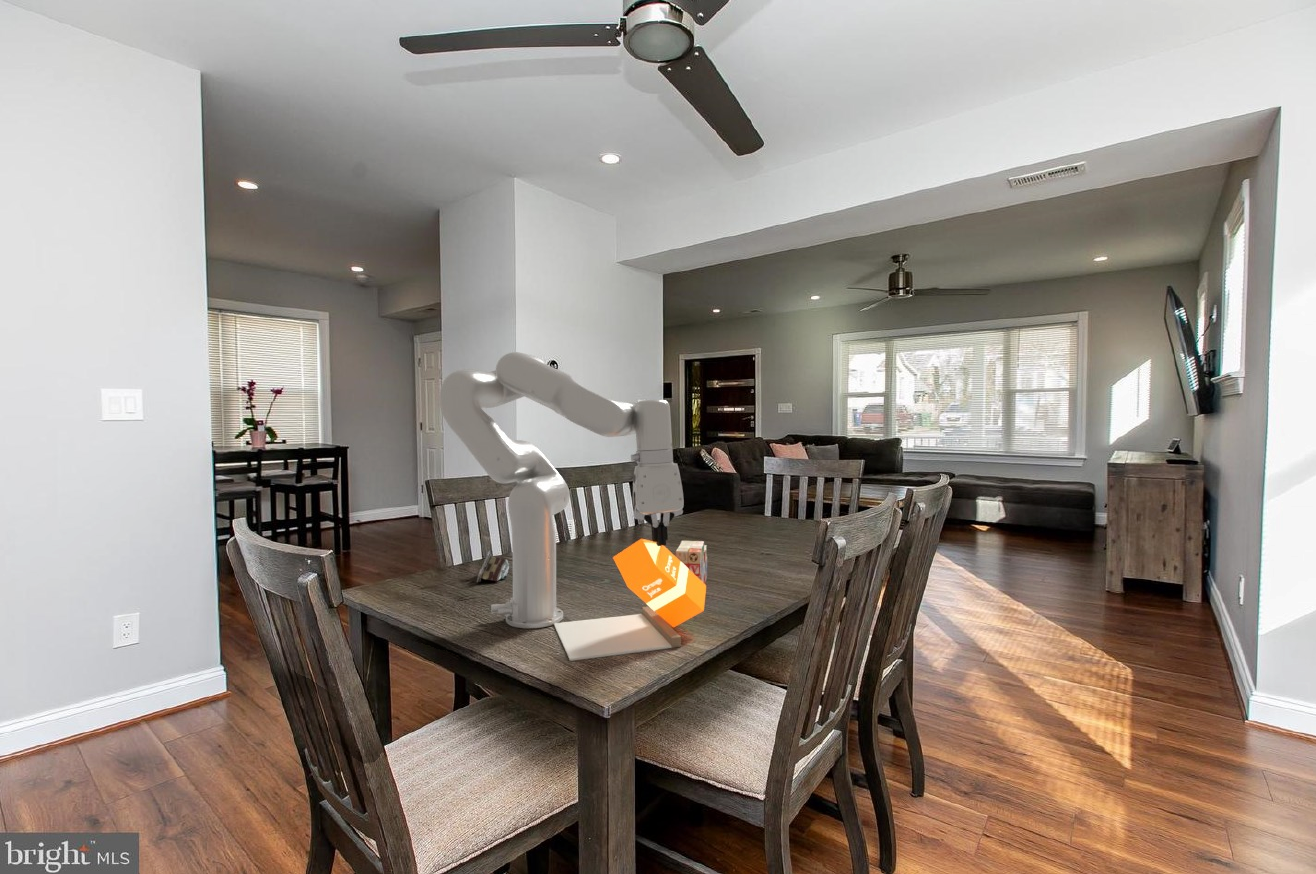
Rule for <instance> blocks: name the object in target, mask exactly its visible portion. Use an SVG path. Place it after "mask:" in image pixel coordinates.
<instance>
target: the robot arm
mask: <svg viewBox="0 0 1316 874" xmlns="http://www.w3.org/2000/svg"><path fill="white" fill-rule="evenodd" d="M438 397H439V399H438V400H439V407H440V412H441V415H442V417H443V418H444V420H445V422H446V424H447V425H448V427H449V428H450V429H451V430H452V432H453V433H455V435H456V436H457V437H458V438H459V439H460V441H461V442H462V443H463V444H464V446H465V447H466V448H467V450H468V451H469V452H470V454H471V455H472V456H473V457H474V459H475V460H476V461H477V462H478V463H479V465H480V466H481V468H482V469H483V470H484V471H485V472H486V474H487V475H488V476H489V477H490V478H491V480H493V481H494V482H496V483H499V484H510V483H515V482H516V483H517V484H516V485H515V486H514V487H513V489H512V490H511V491H510V493H509V496H508V501H507V503H508V504H507V505H508V508H507V509H508V515H509V521H510V525H511V526H510V528H511V539H512V540H511V541H512V542H511V545H512V547H511V548H512V549H511V550H512V551H511V552H512V597H510V600H509V601H506V602H505V603H501V604H500V603H495V604H494V603H493V604H491V614H497V616H504V615H505V623H506V624H507V625H508V626H511V627H514V628H517V629H518V628H519V629H540V628H541V629H542V628H545V627H546V628H547V627H550V626H554V624H555V623H561V621H562V620H563V619H564V611H563V610H562V609H560V608H559V607H557V541H556V539H557V538H556V531H555V530H556V529H555V526H554V520H553V516H554V515H557V514H558V513H561V512H562V511H564V509H565V508H566V507H567V506H568V504H569V501H570V489H569V486H568V484H567V482H566V481H565V479H564V477H563V476H562V475H561V474H560V473H559V472H558V470H557V469H556V467H554V466H553V464H552V463H551V462H550V461H549V460H548V458H547V457H546V456H545V454H543V452H542V451H541V450H540V449H539V448H538V447H536V445H534V444H533V443H531V442H529V441H527V440H523V439H521V440H520V439H518V440H514V439H511V438H510V437H509V436H508V435H507V434H506V433H505V431H503V430H502V428H501V427H500V425H499V423H497V421H496V420H495V419H493V418H492V416H490V415H489V414H488V413H486V412H485V411H484V410H483V409H482V408H486V409H487V408H496V407H500V406H503V405H505V404H508V403H511V402H513V401H516V400H518V399H521V398H524V397H525V398H526V399H528V400H529V399H530V400H531V401H534V402H535V403H538V404H539V405H542V406H544V407H546V408H548V409H550V410H552V411H554V412H555V413H556V414H558V415H560V416H561V417H564V419H566V420H568V421H569V422H572V423H573V424H576V425H578V426H580V427H581V428H584V429H586V430H588V431H590V432H592V433H595V434H597V435H599V436H601V437H606V438H616V437H627V436H630V435H635V440H636V443H635V444H636V451H635V453H634V454H631V455H630V460H631V462H636V464H637V465H635V466H634V472H633V478H632V479H633V481H632V482H633V483H632V506H633V507H632V508H633V509H634V511H633V518H634V519H635V520H640V521H644V522H646V523H647V524H649V526H650V527H651V528H650V529H651V541H653V542H657V543H656V544H657V546H661V545H663V546H665V547H666V546H667V541H668V539H669V538H668V526H669V525H670V522H671V521H672V520H673V519H674V518H675V517H679V516H681V515H683V513H684V510H683V508H684V506H685V505H684V503H685V502H684V501H685V500H684V491H683V484H682V479H681V474H680V469H679V465H678V463H675V462H674V454H673V437H672V435H673V434H672V420H671V419H672V417H671V407H670V403H669V402H668V401H667V400H665V399H645V400H639V401H637V402H628V401H620V400H612V399H609V398H607V397H605V396H602V395H600V394H599V393H596V392H594V391H592V390H589V389H588V388H585V387H583V386H582V385H581V384H579V383H578V382H576V381H575V378H574V377H573V376H572V375H570V374H569V373H567V372H564V371H562V370H560V369H557V368H555V367H553V366H551V365H548V364H547V363H546V362H544V360H542V359H541V358H539V357H538V356H535V355H531V354H527V353H523V352H517V351H513V352H508V353H506V354H504V355H502V356H501V357H500V358H499V360H498V361H497V363H496V366H495V370H493V371H483V370H477V369H470V368H469V369H465V368H464V369H458V370H456V371H453V372H450V374H448V375H447V376H446V377H445V379H444V380H443V382H442V384H441V387H440V389H439V396H438ZM657 514H659V519H658V515H657ZM658 520H659V521H658Z"/></svg>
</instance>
